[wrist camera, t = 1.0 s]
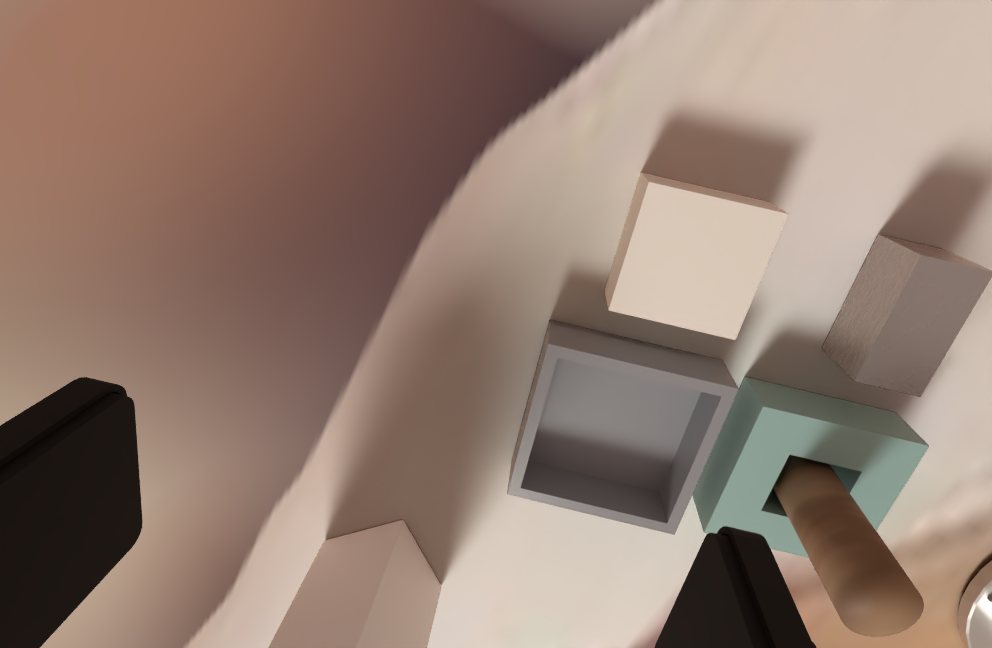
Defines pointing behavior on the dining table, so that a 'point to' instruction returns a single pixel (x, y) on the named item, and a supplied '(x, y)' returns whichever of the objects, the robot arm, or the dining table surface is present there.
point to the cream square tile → (692, 255)
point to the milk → (364, 594)
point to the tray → (618, 426)
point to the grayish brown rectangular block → (904, 314)
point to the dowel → (847, 551)
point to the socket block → (808, 434)
